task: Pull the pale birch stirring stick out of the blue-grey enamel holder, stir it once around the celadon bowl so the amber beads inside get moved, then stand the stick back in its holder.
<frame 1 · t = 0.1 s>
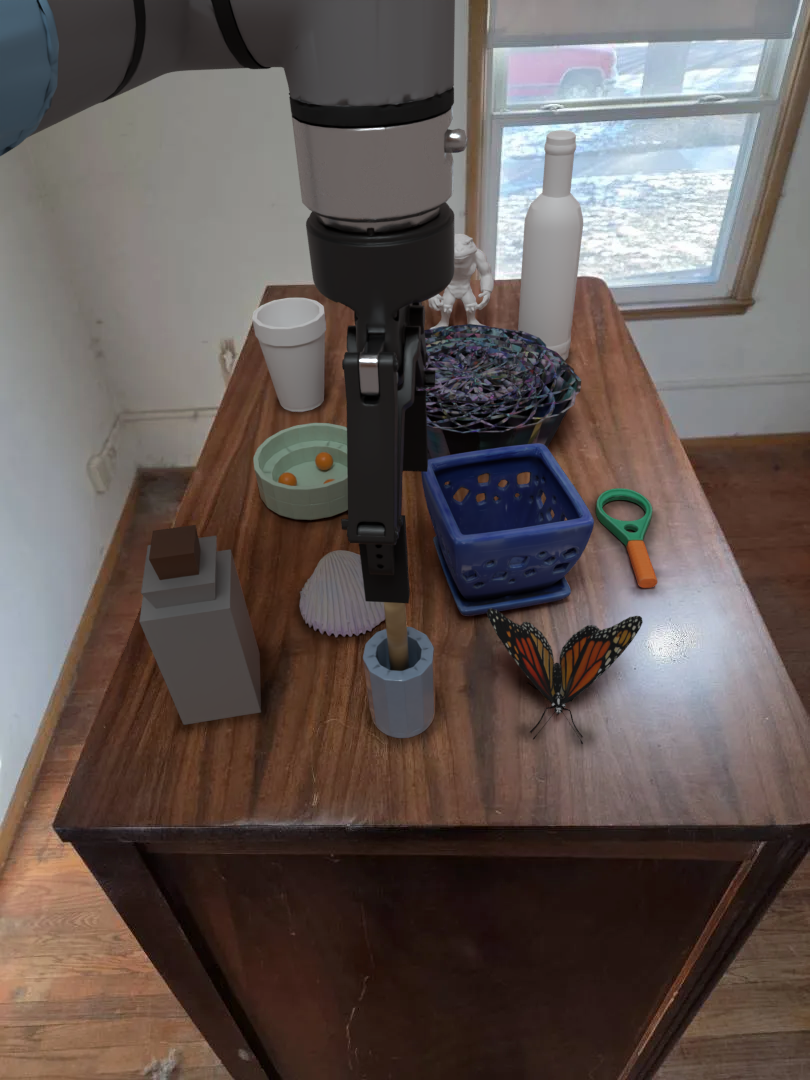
hand: (400, 527, 51), 21 cm above the table, tool pointing down, fingers open, 13 cm apart
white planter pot: (302, 401, 104), on the table
magnifying glass: (630, 541, 79), on the table
bead3: (331, 488, 86), point 2 cm above the table, touching bowl
bottle: (542, 356, 111), on the table
holder: (403, 710, 64), on the table
perfume bottle: (223, 689, 67), on the table
bead2: (287, 481, 87), point 2 cm above the table, touching bowl
flower pot: (497, 579, 76), on the table
seashell: (348, 600, 75), on the table
bowl: (315, 488, 89), on the table
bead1: (324, 461, 90), point 2 cm above the table, touching bowl
butterfly: (552, 702, 64), on the table
stick: (402, 705, 64), point 1 cm above the table, touching holder
decorative bowl: (470, 428, 97), on the table
die: (393, 345, 115), on the table
figurine: (458, 331, 118), on the table
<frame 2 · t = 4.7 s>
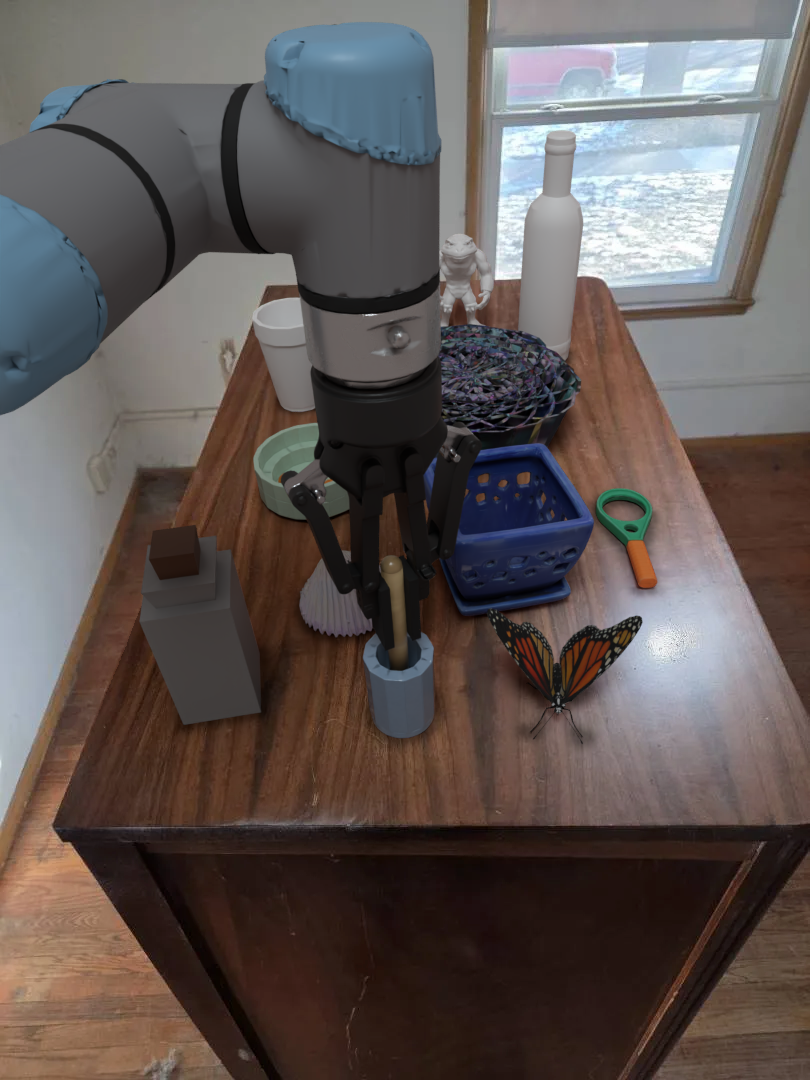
hand: (396, 631, 57), 10 cm above the table, tool pointing down, fingers closed on stick, 1 cm apart
stick: (402, 705, 64), point 1 cm above the table, touching gripper
everything else where it was.
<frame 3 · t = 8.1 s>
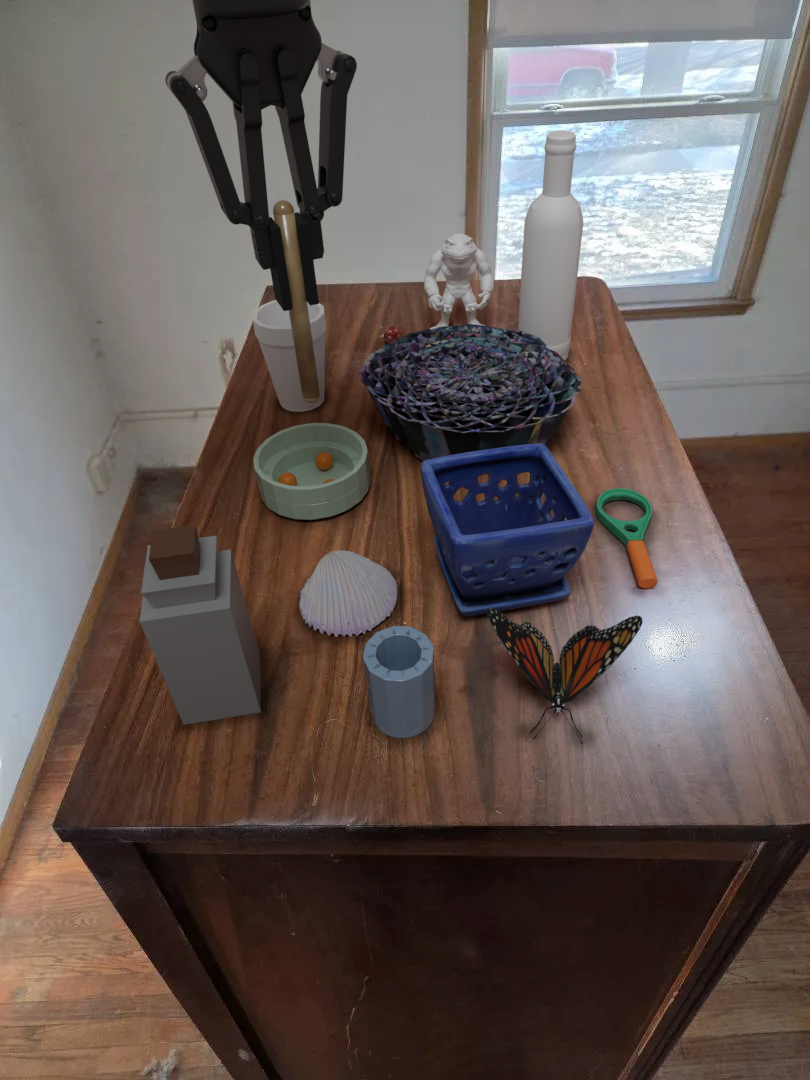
hand: (296, 300, 61), 28 cm above the table, tool pointing down, fingers closed on stick, 1 cm apart
stick: (312, 402, 67), point 19 cm above the table, touching gripper
everything else where it was.
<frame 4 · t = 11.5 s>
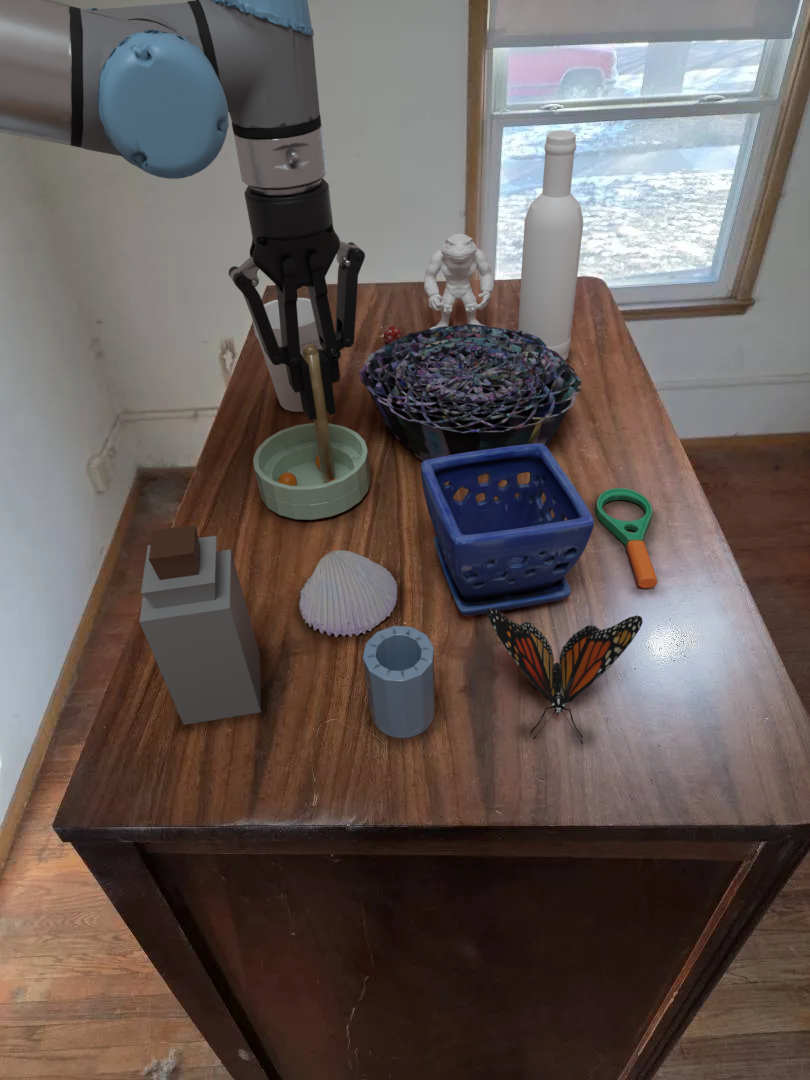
hand: (319, 410, 81), 11 cm above the table, tool pointing down, fingers closed on stick, 1 cm apart
bead3: (336, 488, 86), point 2 cm above the table, tilted 30°, touching bowl
stick: (329, 481, 87), point 2 cm above the table, touching gripper
everything else where it was.
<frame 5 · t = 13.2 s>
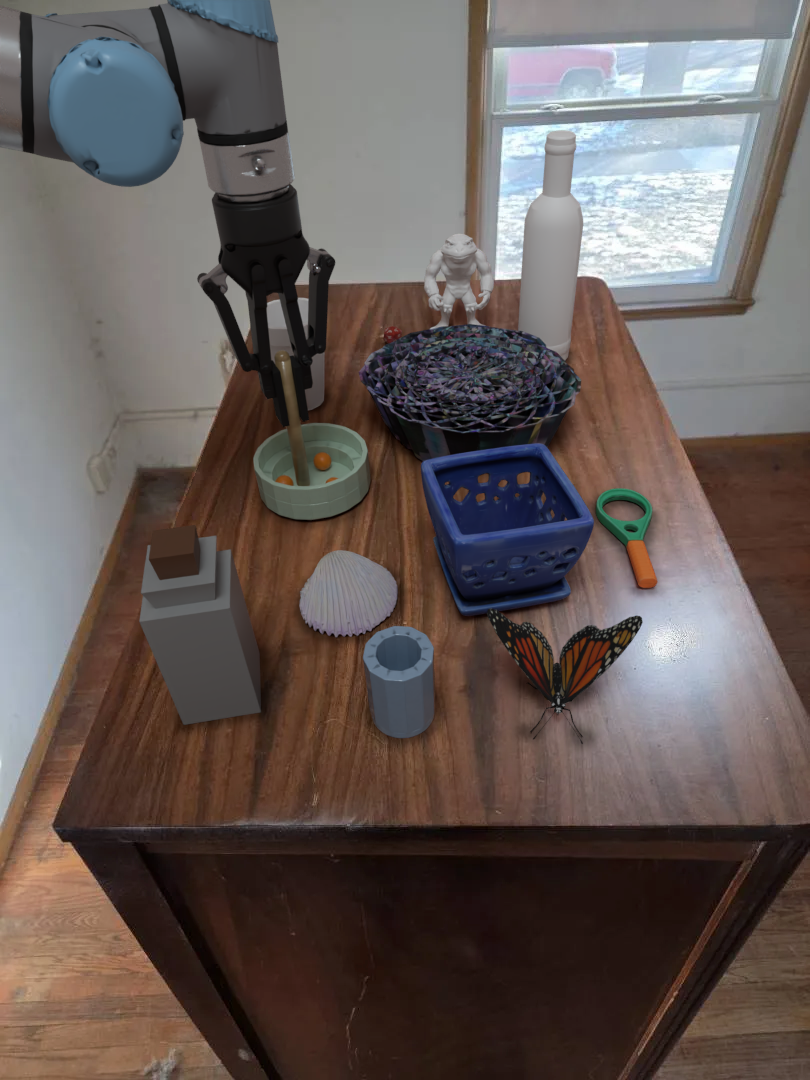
hand: (292, 417, 80), 11 cm above the table, tool pointing down, fingers closed on stick, 1 cm apart
bead3: (334, 486, 86), point 2 cm above the table, tilted 20°, touching bowl
bead2: (284, 484, 87), point 2 cm above the table, tilted 31°, touching bowl
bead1: (322, 461, 90), point 2 cm above the table, tilted 10°, touching bowl
stick: (304, 487, 87), point 1 cm above the table, touching gripper
everything else where it was.
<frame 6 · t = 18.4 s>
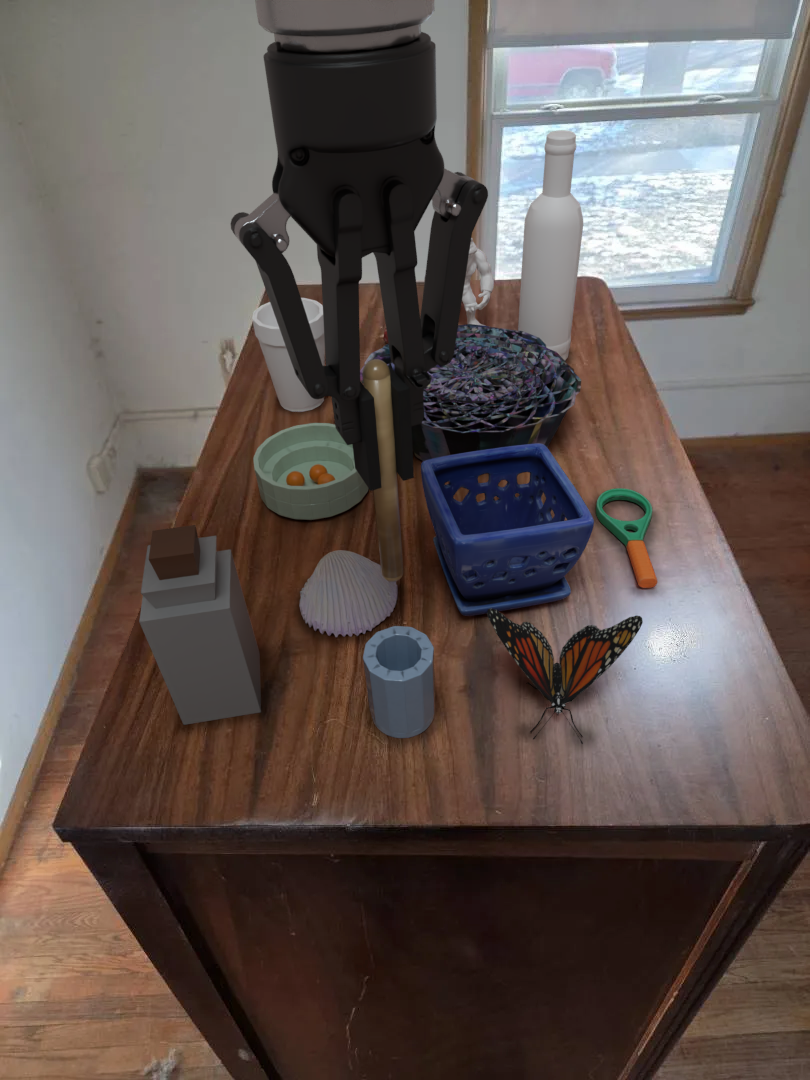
hand: (384, 472, 47), 26 cm above the table, tool pointing down, fingers closed on stick, 1 cm apart
bead3: (326, 482, 87), point 2 cm above the table, tilted 65°, touching bowl
bead2: (295, 480, 87), point 2 cm above the table, tilted 49°, touching bowl
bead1: (318, 473, 88), point 2 cm above the table, tilted 130°, touching bowl
stick: (393, 578, 54), point 16 cm above the table, touching gripper
everything else where it was.
when the fingers open (10 cm above the table, at t = 22.5 s): stick stays where it is, resting on holder.
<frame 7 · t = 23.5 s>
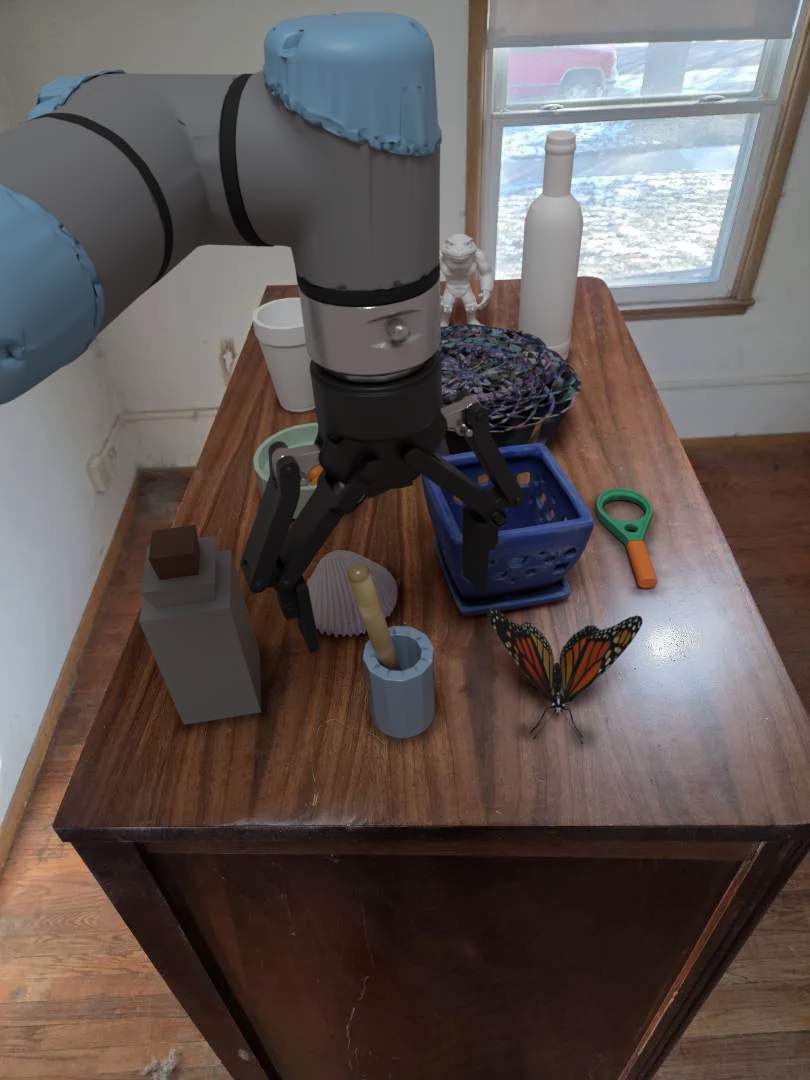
hand: (394, 609, 56), 13 cm above the table, tool pointing down, fingers open, 13 cm apart
bead2: (298, 479, 87), point 2 cm above the table, tilted 69°, touching bowl
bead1: (316, 474, 88), point 2 cm above the table, tilted 138°, touching bowl
stick: (403, 705, 64), point 1 cm above the table, tilted 9°, touching holder
everything else where it was.
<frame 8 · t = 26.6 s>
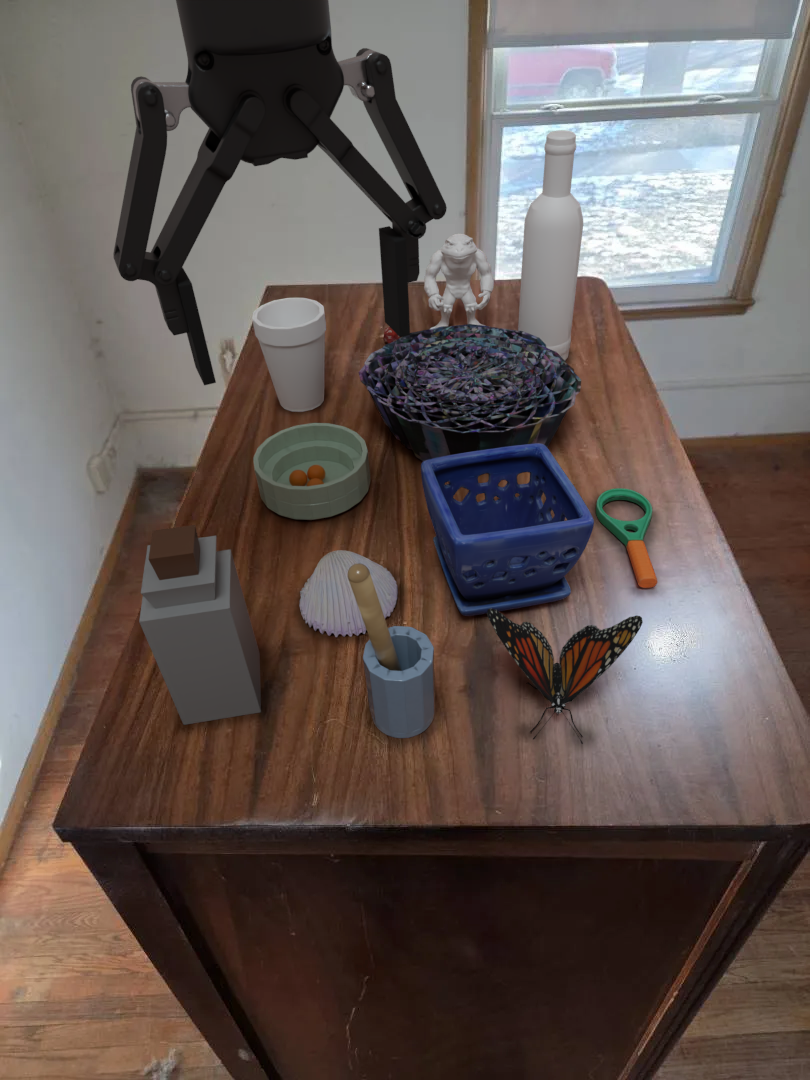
hand: (305, 351, 50), 31 cm above the table, tool pointing down, fingers open, 13 cm apart
bead3: (315, 487, 86), point 2 cm above the table, tilted 76°, touching bowl
everything else where it was.
at the end: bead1 moved 2.6 cm from its start; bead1 inside the target area in the bowl (0.6 cm from its centre), point 1.7 cm above the bowl's base; stick 0.1 cm off-centre in the holder, point 0.8 cm above the holder's base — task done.
